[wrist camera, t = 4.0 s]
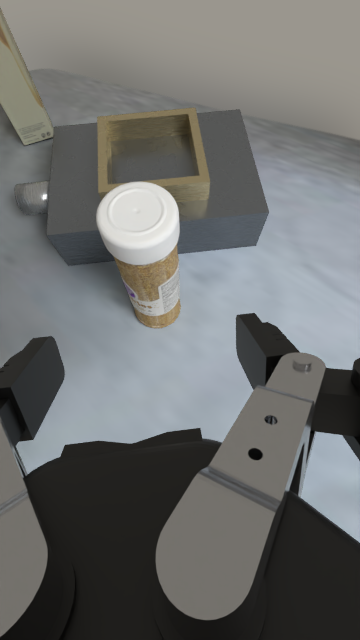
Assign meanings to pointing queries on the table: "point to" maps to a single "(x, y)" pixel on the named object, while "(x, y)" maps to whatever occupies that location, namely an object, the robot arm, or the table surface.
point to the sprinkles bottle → (144, 248)
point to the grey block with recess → (152, 179)
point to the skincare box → (20, 92)
